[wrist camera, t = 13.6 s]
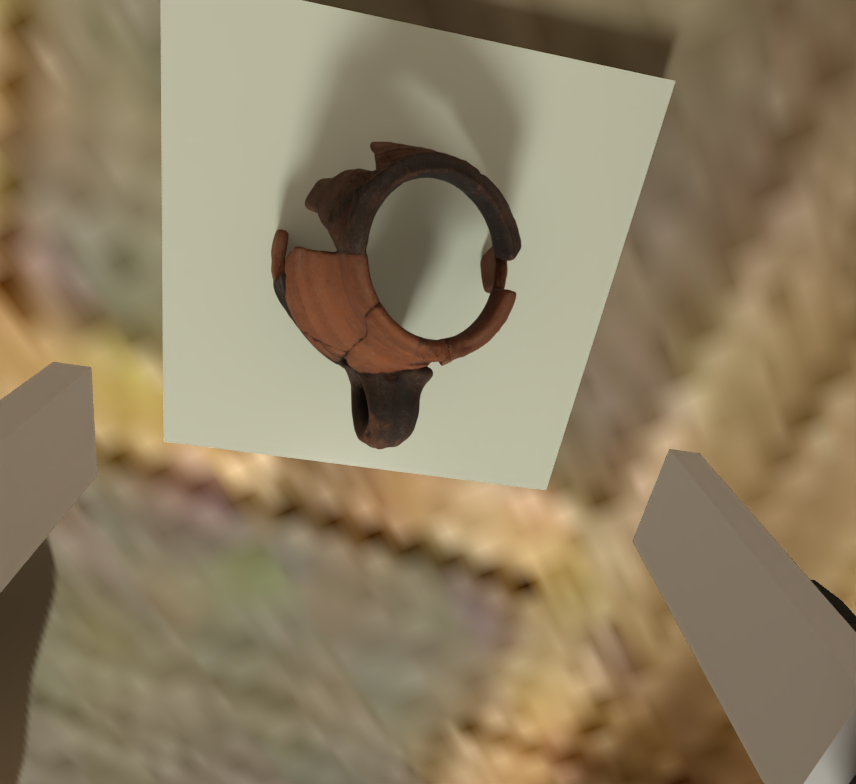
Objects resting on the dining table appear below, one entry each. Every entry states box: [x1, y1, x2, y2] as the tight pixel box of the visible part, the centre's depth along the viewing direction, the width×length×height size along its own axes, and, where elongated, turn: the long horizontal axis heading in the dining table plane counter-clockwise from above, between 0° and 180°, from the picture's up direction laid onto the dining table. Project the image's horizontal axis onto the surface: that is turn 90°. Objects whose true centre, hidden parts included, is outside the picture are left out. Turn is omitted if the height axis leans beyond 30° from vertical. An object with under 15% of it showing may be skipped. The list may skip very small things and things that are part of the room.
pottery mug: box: [271, 142, 521, 449], centre depth 25 cm, size 12×10×8 cm
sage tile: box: [161, 0, 675, 490], centre depth 28 cm, size 20×20×2 cm
